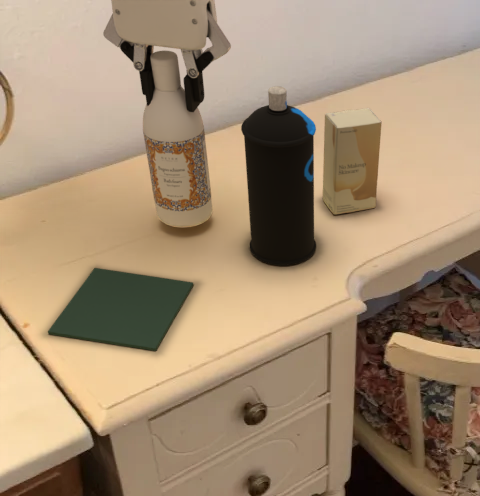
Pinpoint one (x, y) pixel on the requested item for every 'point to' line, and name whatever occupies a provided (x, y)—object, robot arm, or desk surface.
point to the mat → (122, 309)
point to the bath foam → (175, 149)
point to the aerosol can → (280, 181)
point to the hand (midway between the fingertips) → (174, 102)
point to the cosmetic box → (351, 160)
